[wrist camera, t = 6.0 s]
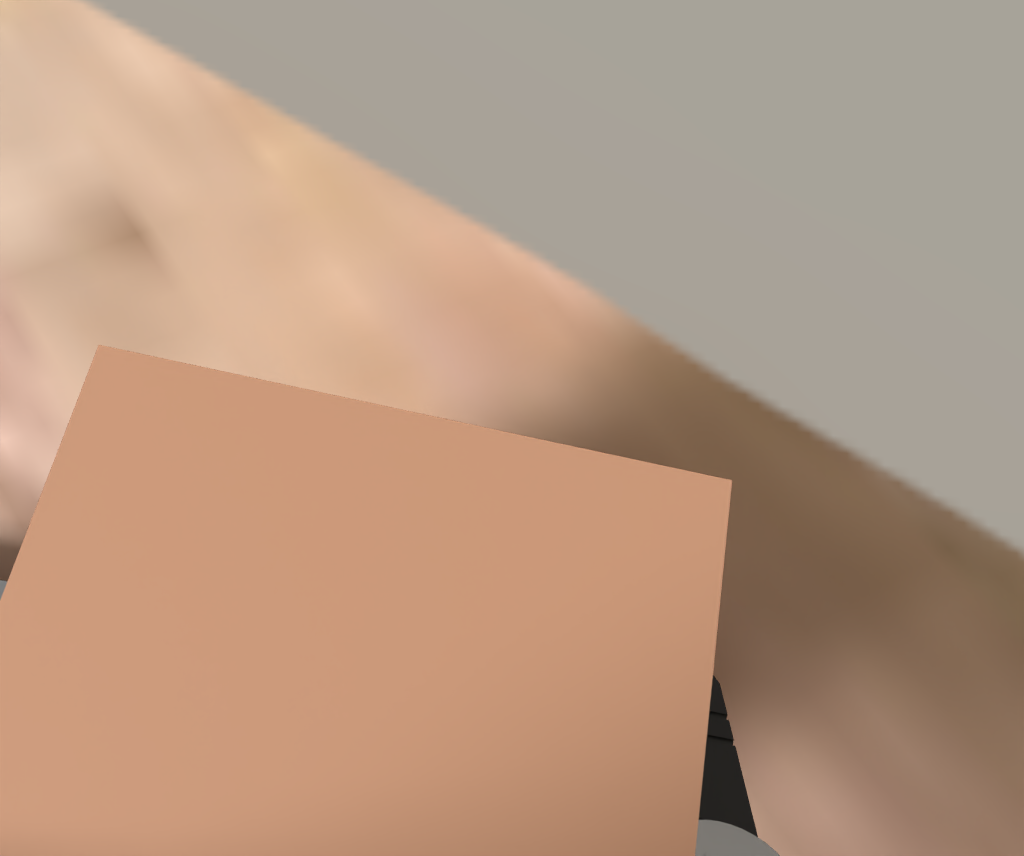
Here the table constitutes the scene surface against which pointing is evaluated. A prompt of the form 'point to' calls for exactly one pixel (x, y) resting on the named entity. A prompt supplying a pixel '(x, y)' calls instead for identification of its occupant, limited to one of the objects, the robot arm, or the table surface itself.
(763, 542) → the table surface
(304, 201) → the table surface
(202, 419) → the terracotta block
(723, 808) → the robot arm
